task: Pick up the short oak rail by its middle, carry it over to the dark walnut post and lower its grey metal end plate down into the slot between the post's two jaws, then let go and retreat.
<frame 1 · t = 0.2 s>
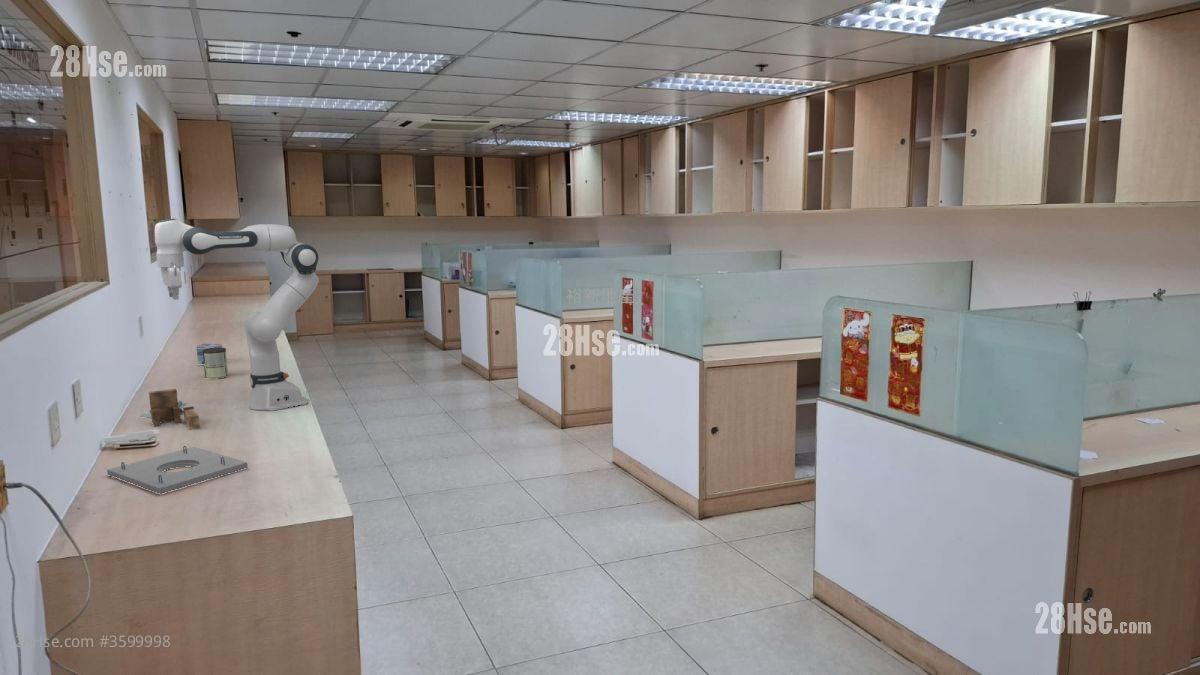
hand: (174, 298, 285), 47 cm above the table, tool pointing down, fingers open, 8 cm apart
coffee can: (216, 377, 366), on the table
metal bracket: (166, 416, 298), on the table
light bulb box: (210, 365, 397), on the table
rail: (192, 425, 283), on the table
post: (166, 422, 286), on the table
mounting panel: (179, 474, 231), on the table
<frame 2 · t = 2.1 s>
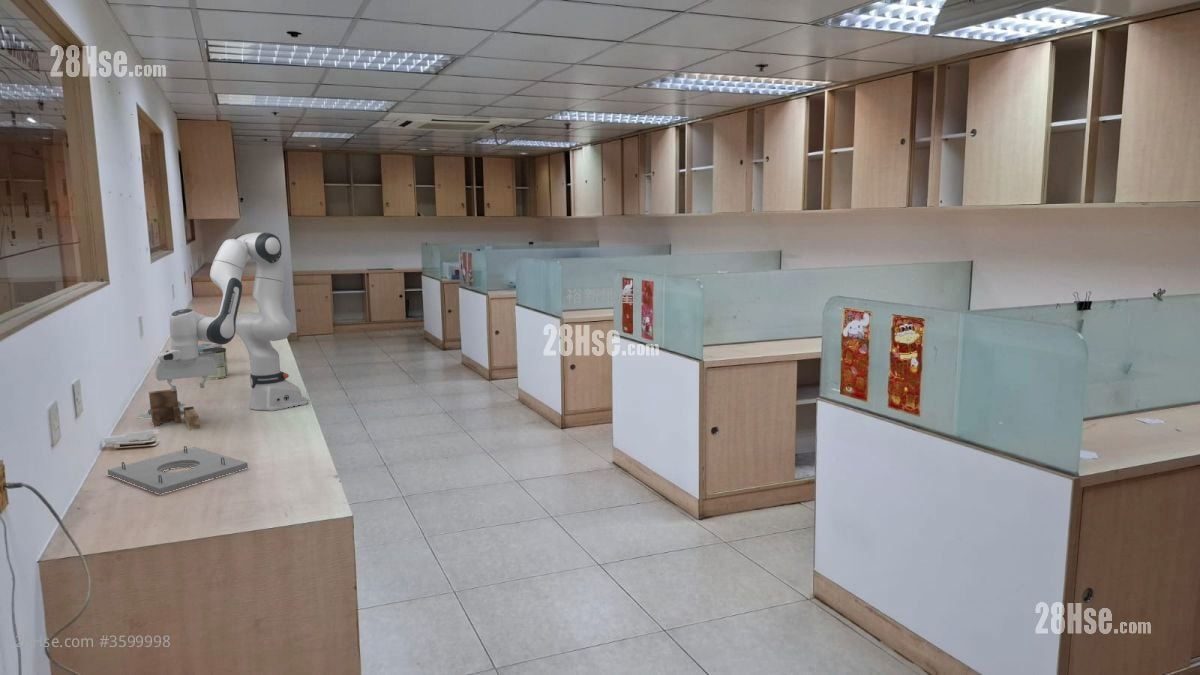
hand: (188, 389, 280), 14 cm above the table, tool pointing down, fingers open, 8 cm apart
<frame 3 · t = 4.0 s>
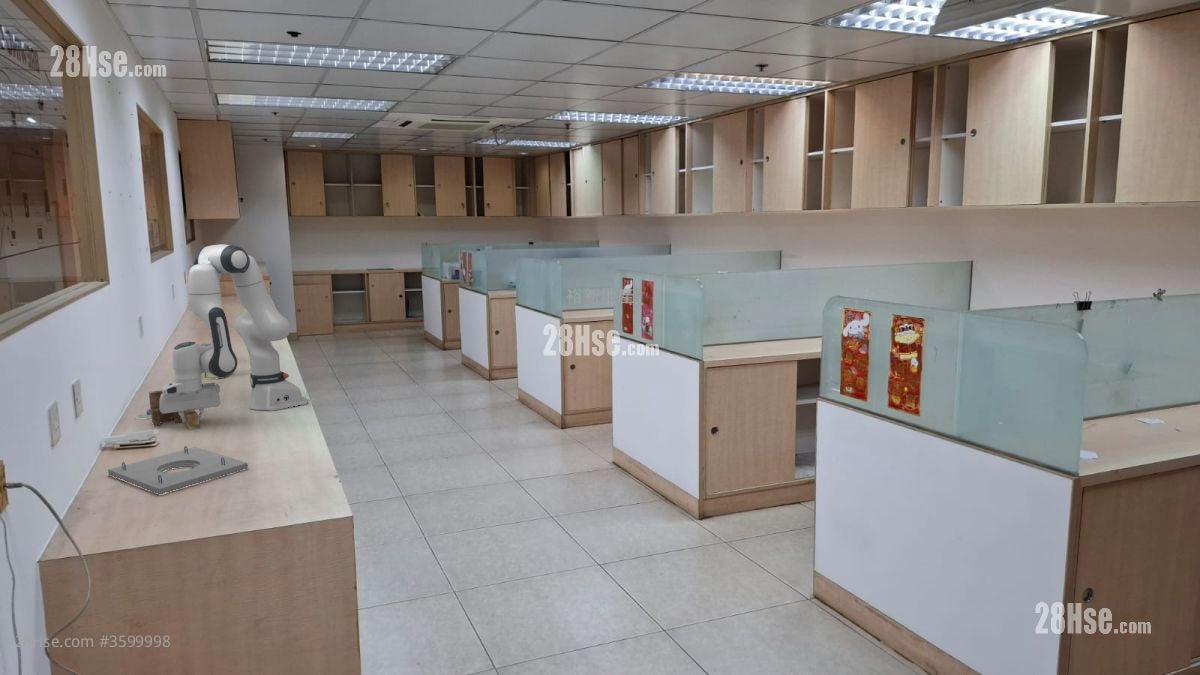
hand: (191, 421, 282), 2 cm above the table, tool pointing down, fingers closed on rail, 3 cm apart
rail: (192, 425, 283), on the table, touching gripper
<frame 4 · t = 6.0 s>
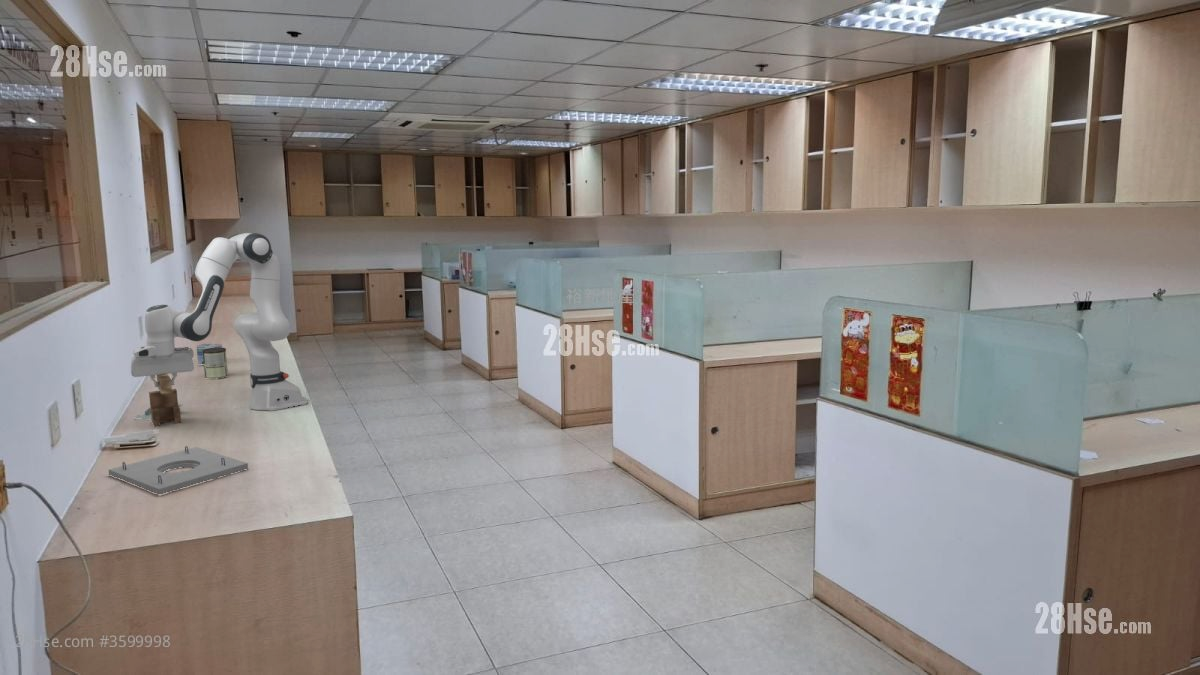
hand: (164, 385, 277), 16 cm above the table, tool pointing down, fingers closed on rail, 3 cm apart
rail: (164, 390, 278), point 14 cm above the table, touching gripper
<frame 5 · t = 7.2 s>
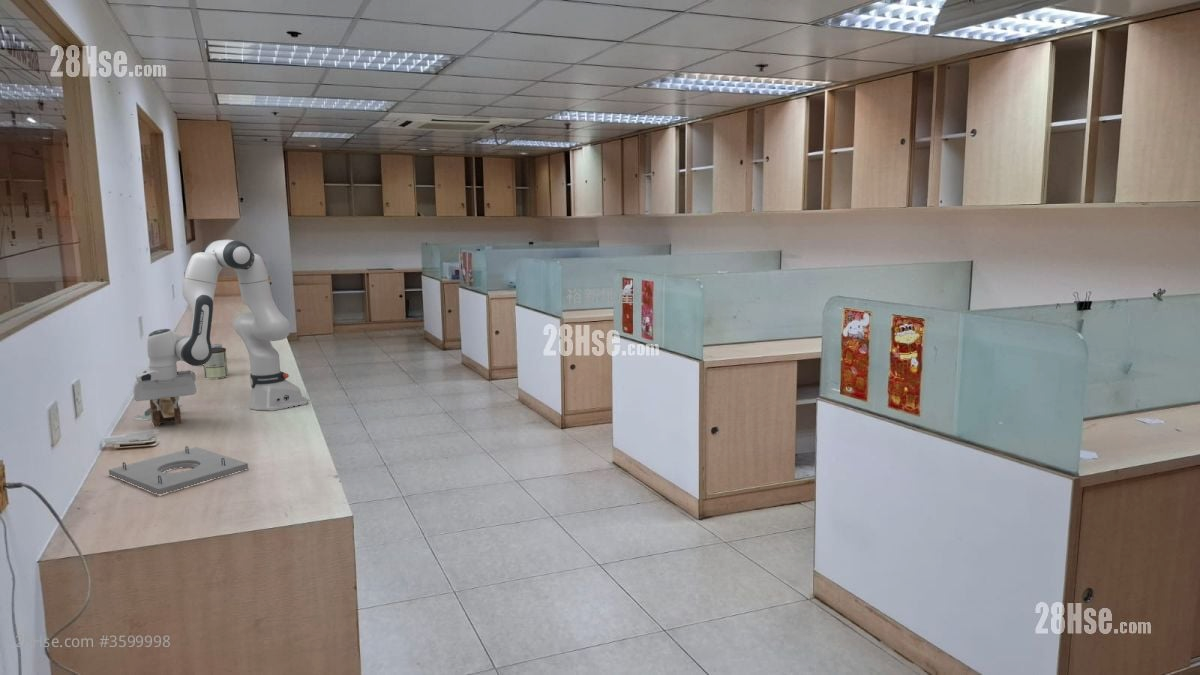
hand: (166, 409, 279), 7 cm above the table, tool pointing down, fingers closed on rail, 3 cm apart
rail: (167, 413, 279), point 5 cm above the table, touching gripper
when the fingers open (3 cm above the table, at t = 8.2 s): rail drops 2 cm, on the table.
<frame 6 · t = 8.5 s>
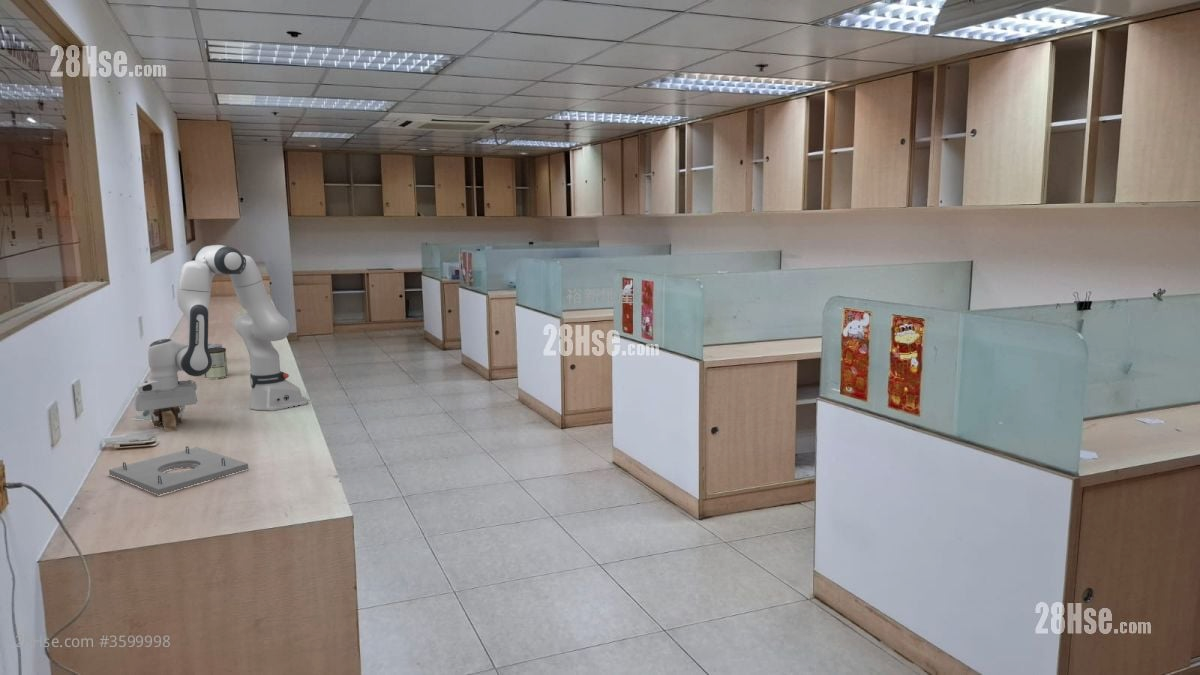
hand: (168, 419, 280), 3 cm above the table, tool pointing down, fingers open, 6 cm apart
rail: (169, 427, 280), on the table
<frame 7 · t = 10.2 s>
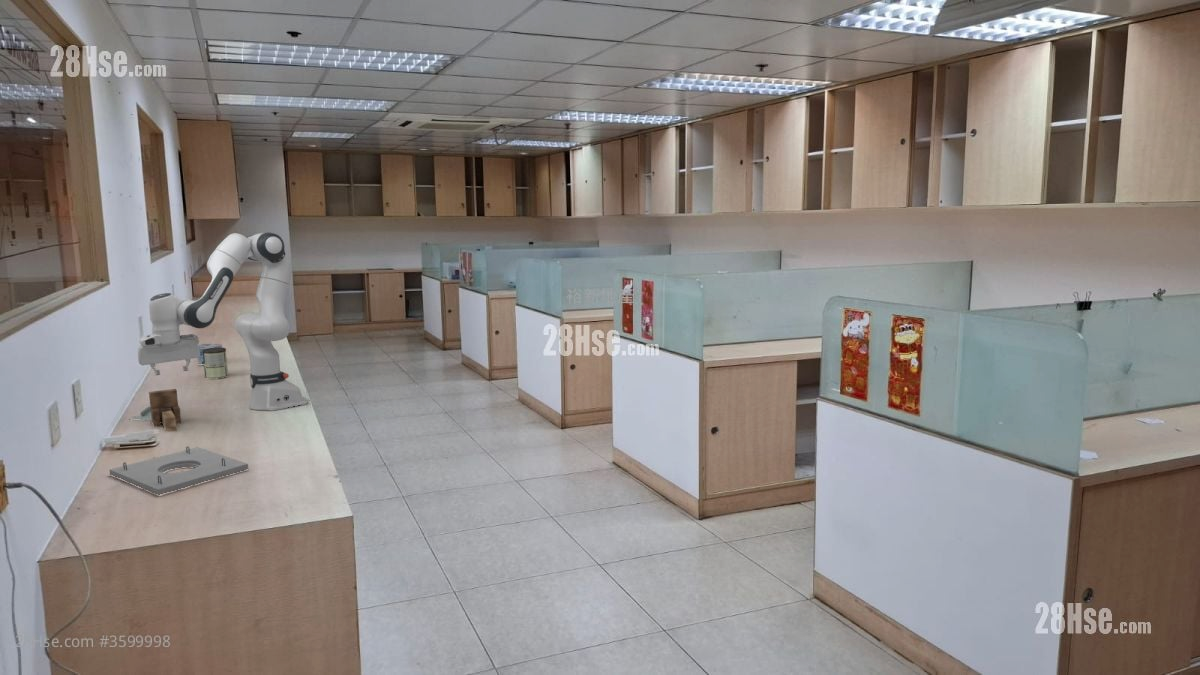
hand: (172, 372, 282), 20 cm above the table, tool pointing down, fingers open, 8 cm apart
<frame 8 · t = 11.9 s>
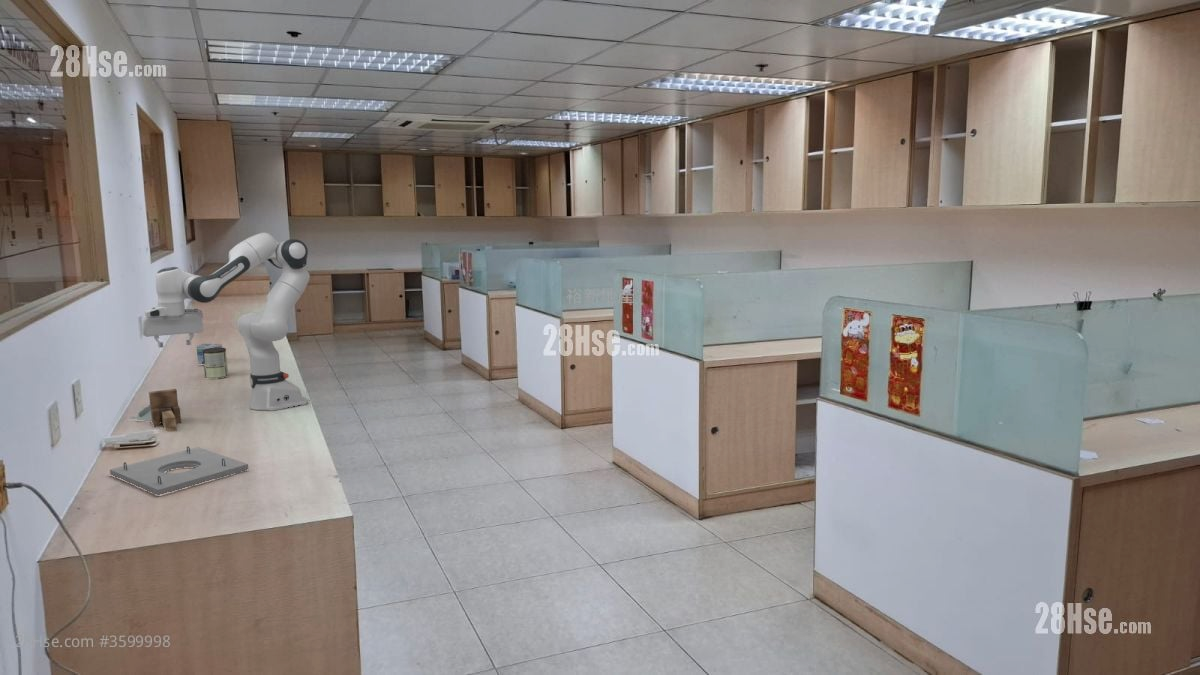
hand: (175, 346, 286), 29 cm above the table, tool pointing down, fingers open, 8 cm apart
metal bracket: (155, 418, 294), on the table, touching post
at the end: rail 0.2 cm from the target spot on the table beside the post, on the table; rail tilted 0°; the gripper is holding nothing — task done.
